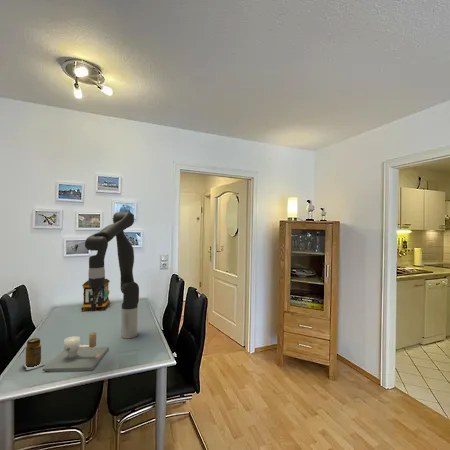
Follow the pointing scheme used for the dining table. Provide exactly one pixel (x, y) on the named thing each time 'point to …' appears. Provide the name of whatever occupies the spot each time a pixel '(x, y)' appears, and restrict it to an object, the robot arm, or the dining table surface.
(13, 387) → the dining table surface
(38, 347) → the condiment
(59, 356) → the board
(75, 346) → the cream maraca
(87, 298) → the decorative lantern
